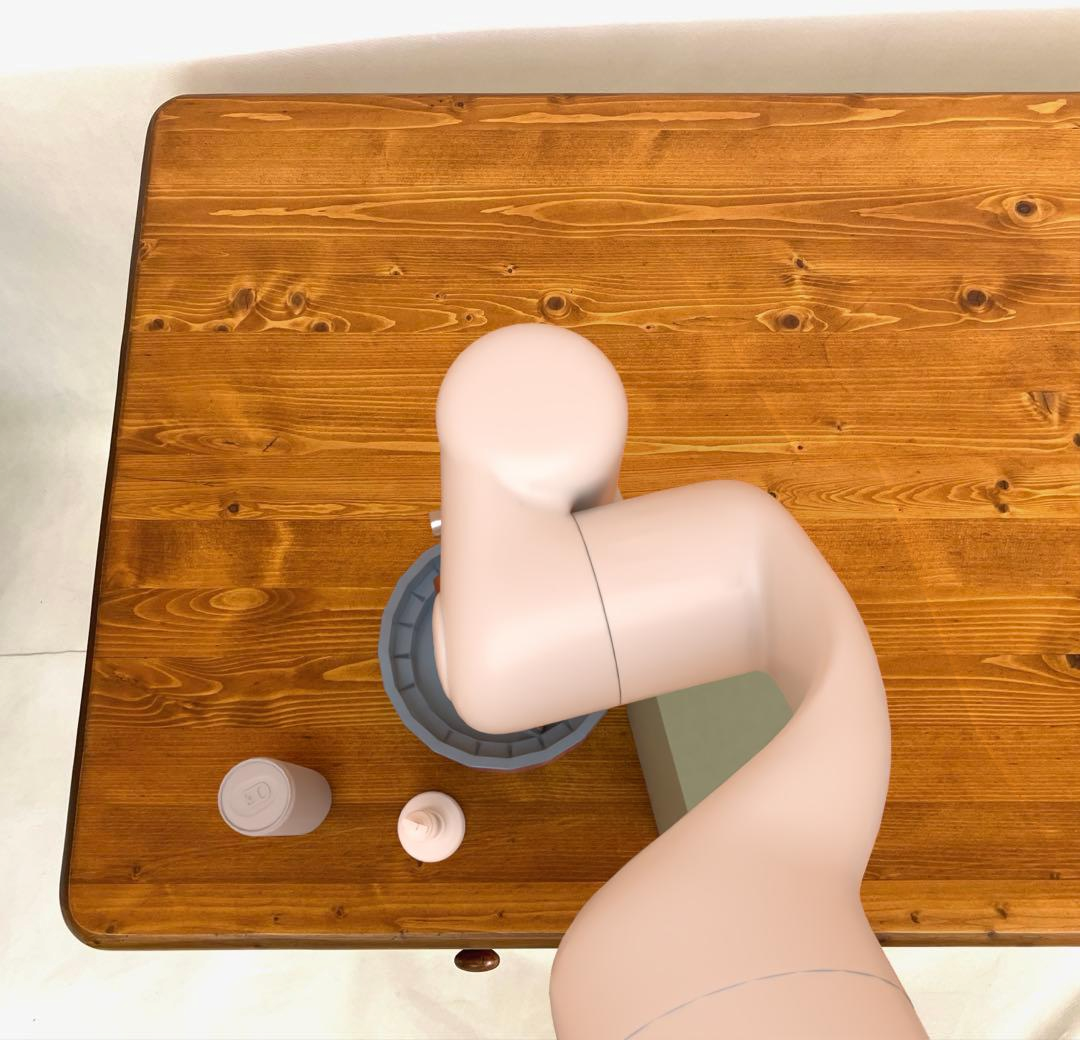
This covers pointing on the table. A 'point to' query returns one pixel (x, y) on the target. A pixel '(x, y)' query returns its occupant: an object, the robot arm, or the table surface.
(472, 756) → the bowl
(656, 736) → the stand
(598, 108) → the table surface
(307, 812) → the beverage can
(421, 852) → the chess piece
